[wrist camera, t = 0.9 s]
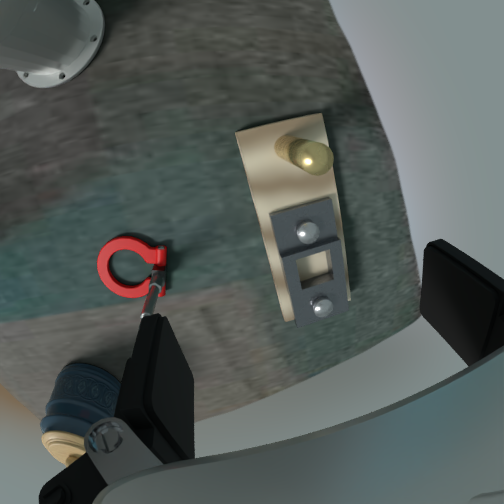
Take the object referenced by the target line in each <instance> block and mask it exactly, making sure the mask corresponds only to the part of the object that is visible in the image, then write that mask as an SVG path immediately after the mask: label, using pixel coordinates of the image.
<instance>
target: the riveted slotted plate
mask: <svg viewBox="0 0 504 504" xmlns="http://www.w3.org/2000/svg"><path fill="white" fill-rule="evenodd" d="M269 218H270V222H271V226H272V230H273V234H274V238H275V242H276V246H277V250H278V255H279V259H280V263H281V267H282V271H283V276H284V280H285V284H286V289H287V292H288V294H289V297H290V302H291V306H292V310H293V315H294V319H295V324H296V326H297V328H299V327H302V326H305V325H308V324H311V323H314V322H317V321H320V320H322V319H325V318H328V317H331V316H334V315H337V314H340V313H342V312H345V311H348V310H349V308H348V297H347V287H346V278H345V269H344V261H343V253H342V245H341V239H339V238H338V236H337V229H336V222H335V216H334V210H333V203H332V199H331V198H330V197H326V198H322V199H319V200H315V201H311V202H308V203H304V204H301V205H297V206H293V207H290V208H286V209H283V210H279V211H276V212H272V213H269ZM323 251H325V253H326V259H327V266H328V273H325V274H322V275H319V276H315V277H312V278H309V279H306V280H303V281H300V278H299V273H298V269H297V264H296V260H297V259H300V258H304V257H307V256H310V255H313V254H316V253H320V252H323Z"/></svg>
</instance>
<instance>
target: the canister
mask: <svg viewBox="0 0 504 504" xmlns="http://www.w3.org/2000/svg"><path fill="white" fill-rule="evenodd" d="M120 387H121V384H120V382H119V381H118V380H117V379H116V378H115V377H114V376H112V375H111V374H110V373H108V372H106V371H105V370H103V369H101V368H98V367H96V366H93V365H89V364H83V363H75V364H70V365H67V366H66V367H64V368H63V369H62V371H61V372H60V373H59V374H58V376H57V379H56V381H55V387H54V389H53V392H52V395H51V397H50V400H49V402H48V403H47V405H46V417H44V418H43V419H42V420H41V423H40V427H41V430H42V432H43V435H42V443H43V444H44V446H45V447H46V449H47V450H48V451H49V452H50V453H51V455H52V456H53V457H54V458H56V459H57V460H58V461H60V462H62V463H63V464H65V465H66V467H68V466H69V465H70V464H72V463H73V462H74V461H75V460H77V459H78V458H79V457H81V456H82V455H83V454H84V453H86V450H85V447H84V437H85V434H86V432H87V431H88V429H89V428H90V427H91V426H92V425H93V424H94V423H95V422H97V421H99V420H101V419H104V418H108V417H114V413H115V408H116V404H117V399H118V395H119V391H120Z"/></svg>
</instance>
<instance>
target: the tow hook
mask: <svg viewBox="0 0 504 504" xmlns="http://www.w3.org/2000/svg"><path fill="white" fill-rule="evenodd" d="M122 249H129V250H132V251H135V252H136V253H138V254H140V255H141V256H142V257H143V259H144V260H145V262H147V263H153V264H154V266H153V269H152V277H147V278H146V279H145V280H144V281H143V282H142V283H141V284H139V285H135V286H127V285H124V284H122V283H120V282H118V281H117V280H116V279H115V278H114V277H113V275H112V274H111V271H110V269H109V260H110V257H111V255H112V254H113V253H114V252H116V251H118V250H122ZM166 255H167V247H166V246H163V245H159V246H156V247H150V246H149V245H148V244H147V243H145V242H143V241H142V240H140V239H138V238H134V237H131V236H121V237H116V238H114V239H112V240H110V241H108V242H107V243H106V244H105V245H104V247H103V248H102V249H101V251H100V253H99V255H98V260H97V268H98V273H99V275H100V278H101V280H102V281H103V283H104V284H105V285H106V286H107V287H108V288H109V289H110V290H111V291H112V292H114V293H116V294H118V295H120V296H123V297H127V298H137V297H142V296H144V295H146V294H147V297H146V300H145V303H144V306H143V309H142V312H141V316H140V317H141V320H142V317H144V316H148V315H153V313H154V309H155V305H156V302H157V298H158V296H159V297H162V296H164V295H165V286H166V276H167V264H166ZM140 323H141V322H140ZM139 327H140V326H139ZM138 330H139V329H138Z"/></svg>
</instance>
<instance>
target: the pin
mask: <svg viewBox="0 0 504 504" xmlns="http://www.w3.org/2000/svg"><path fill="white" fill-rule="evenodd" d="M274 150H275V153H276V154H277V156H278V157H280V158H281V159H283V160H285V161H287V162H289V163H291V164H293V165H295V166H296V167H298V168H300V169H302V170H304V171H306V172H308V173H309V174H311V175H315V176H320V175H323V174H325V173H327V172H328V171H329V170H330V169H331V167H332V165H333V160H334V157H333V153H332V151H331V149H330V148H329V147H328V146H327V145H325V144H323V143H320V142H316V141H311V140H307V139H303V138H298V137H294V136H289V135H284V136H281V137H279V138H278V139H277V140H276V142H275V145H274Z"/></svg>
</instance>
